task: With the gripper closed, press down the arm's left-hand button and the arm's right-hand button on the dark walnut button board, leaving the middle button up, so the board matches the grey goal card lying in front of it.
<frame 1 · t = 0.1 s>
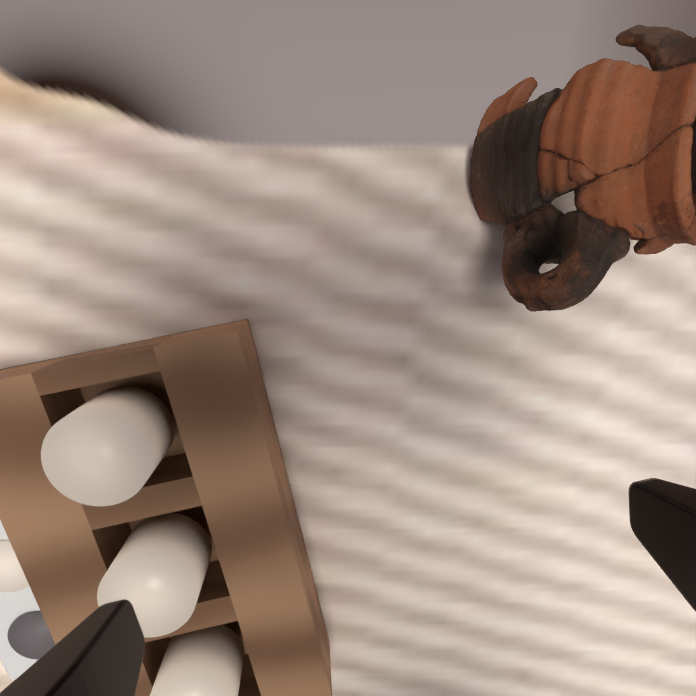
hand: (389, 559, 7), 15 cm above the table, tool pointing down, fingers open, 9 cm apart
button 1: (114, 442, 18), point 4 cm above the table, slide at 0.0 cm
pottery mug: (550, 192, 21), on the table
goal card: (13, 559, 22), on the table
button middle: (159, 571, 19), point 4 cm above the table, slide at 0.0 cm
button board: (183, 521, 23), on the table
button 2: (198, 682, 21), point 4 cm above the table, slide at 0.0 cm
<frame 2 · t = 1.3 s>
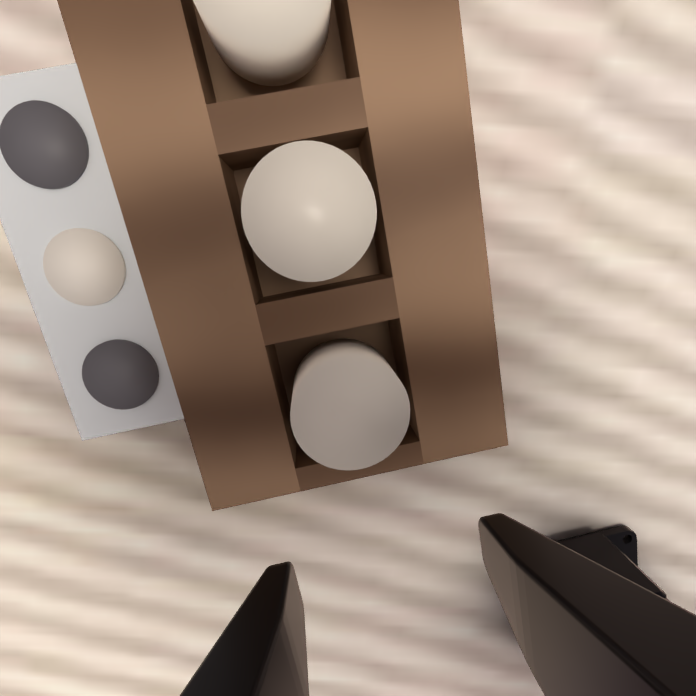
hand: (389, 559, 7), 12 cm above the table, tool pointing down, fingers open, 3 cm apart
goal card: (91, 267, 17), on the table
button middle: (309, 217, 14), point 4 cm above the table, slide at 0.0 cm
button board: (309, 224, 18), on the table
button 2: (347, 400, 16), point 4 cm above the table, slide at 0.0 cm
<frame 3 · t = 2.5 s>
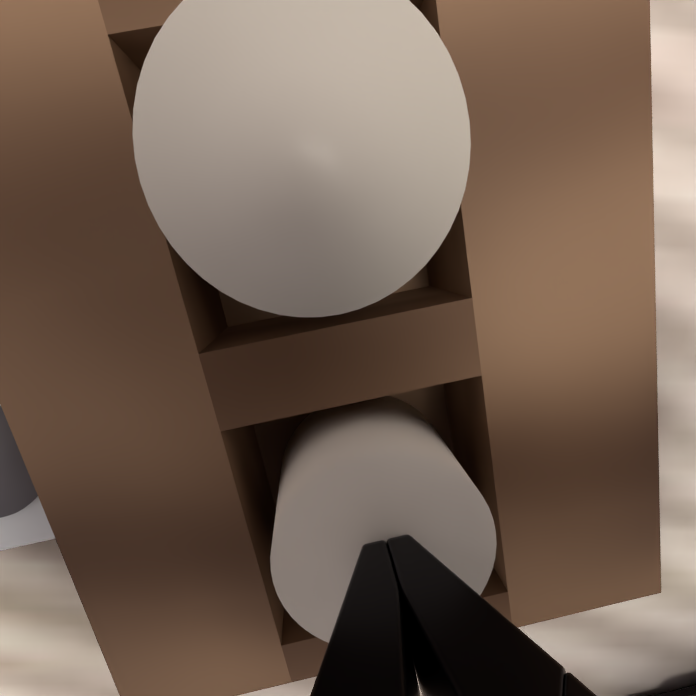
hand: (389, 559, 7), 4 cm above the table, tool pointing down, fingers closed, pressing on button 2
button middle: (307, 173, 7), point 4 cm above the table, slide at 0.0 cm
button board: (308, 201, 10), on the table
button 2: (373, 507, 9), point 3 cm above the table, slide at 0.9 cm, touching gripper
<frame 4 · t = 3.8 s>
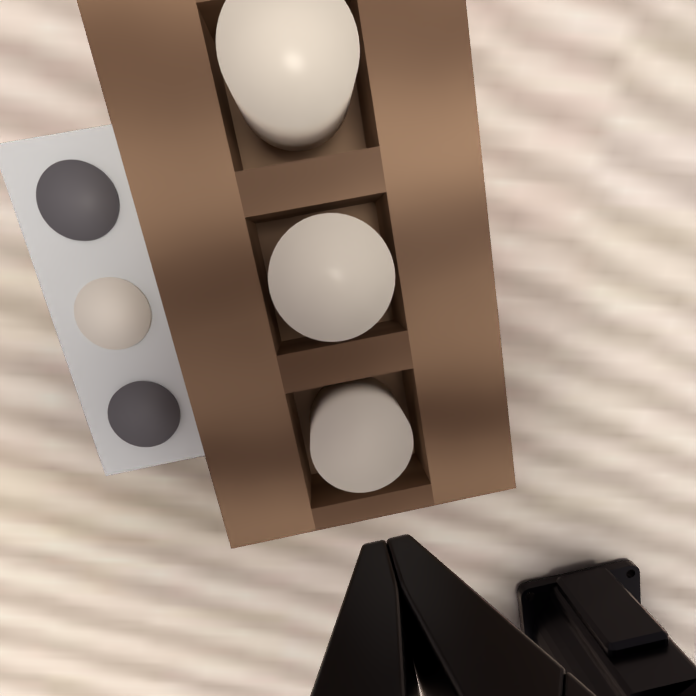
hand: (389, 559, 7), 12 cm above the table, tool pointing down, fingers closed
button 1: (291, 71, 13), point 4 cm above the table, slide at 0.0 cm
goal card: (118, 312, 18), on the table
button middle: (330, 277, 15), point 4 cm above the table, slide at 0.0 cm
button board: (326, 272, 18), on the table
button 2: (358, 429, 18), point 2 cm above the table, slide at 1.6 cm
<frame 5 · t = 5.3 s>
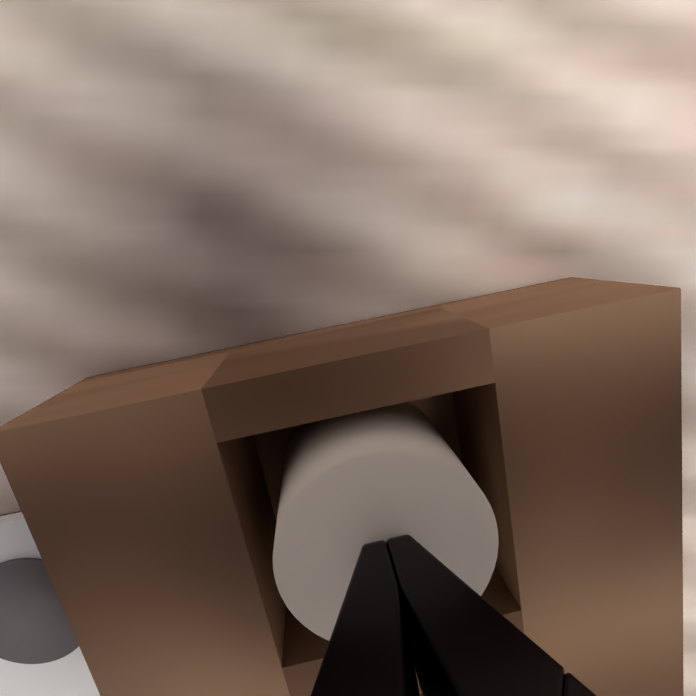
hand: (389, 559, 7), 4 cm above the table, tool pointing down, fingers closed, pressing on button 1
button 1: (375, 506, 9), point 2 cm above the table, slide at 1.4 cm, touching gripper
button board: (401, 650, 13), on the table
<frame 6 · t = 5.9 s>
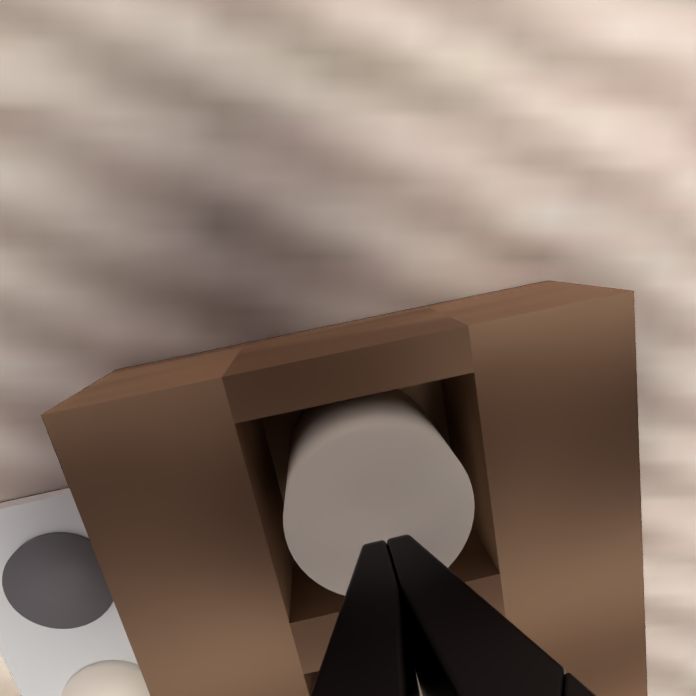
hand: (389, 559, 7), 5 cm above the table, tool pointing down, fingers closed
button 1: (370, 479, 10), point 2 cm above the table, slide at 1.5 cm
goal card: (120, 686, 13), on the table
button board: (396, 620, 14), on the table
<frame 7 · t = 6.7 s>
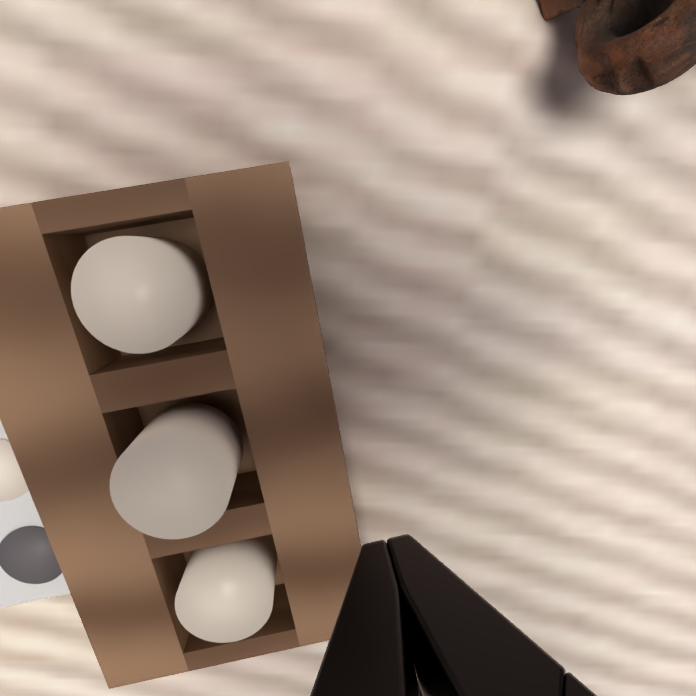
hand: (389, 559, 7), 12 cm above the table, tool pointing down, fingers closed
button 1: (149, 291, 16), point 2 cm above the table, slide at 1.5 cm
goal card: (5, 464, 19), on the table
button middle: (183, 466, 16), point 4 cm above the table, slide at 0.0 cm
button board: (205, 425, 20), on the table
button 2: (230, 576, 19), point 2 cm above the table, slide at 1.6 cm
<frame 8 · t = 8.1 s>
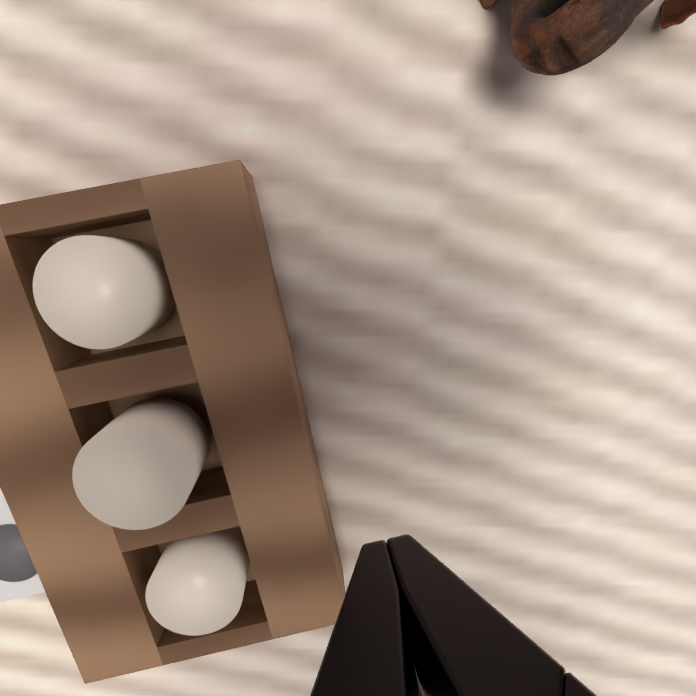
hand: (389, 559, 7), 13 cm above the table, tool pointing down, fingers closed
button 1: (112, 290, 16), point 2 cm above the table, slide at 1.5 cm
button middle: (148, 459, 16), point 4 cm above the table, slide at 0.0 cm
button board: (177, 422, 20), on the table
button 2: (203, 570, 19), point 2 cm above the table, slide at 1.6 cm
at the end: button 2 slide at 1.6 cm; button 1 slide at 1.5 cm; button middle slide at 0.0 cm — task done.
